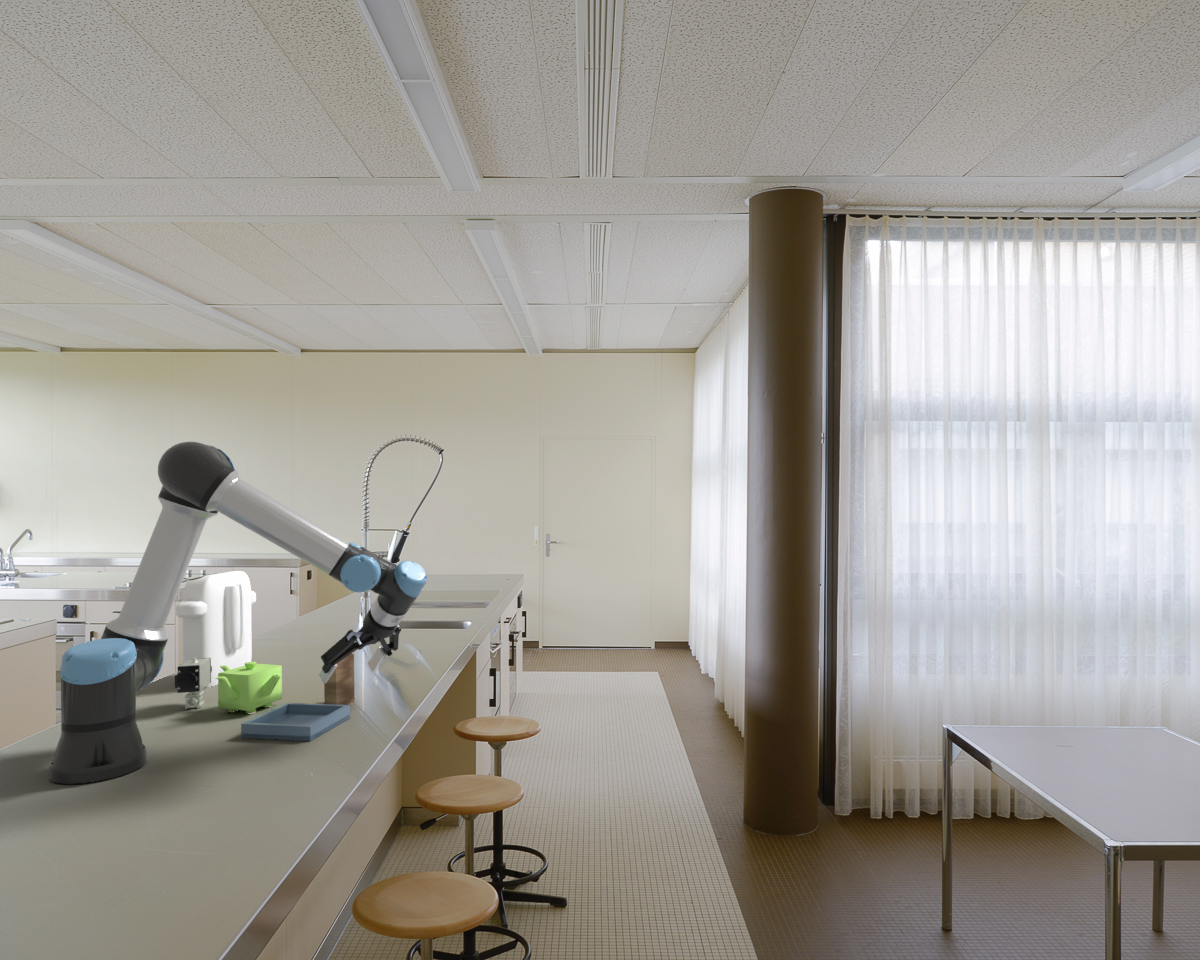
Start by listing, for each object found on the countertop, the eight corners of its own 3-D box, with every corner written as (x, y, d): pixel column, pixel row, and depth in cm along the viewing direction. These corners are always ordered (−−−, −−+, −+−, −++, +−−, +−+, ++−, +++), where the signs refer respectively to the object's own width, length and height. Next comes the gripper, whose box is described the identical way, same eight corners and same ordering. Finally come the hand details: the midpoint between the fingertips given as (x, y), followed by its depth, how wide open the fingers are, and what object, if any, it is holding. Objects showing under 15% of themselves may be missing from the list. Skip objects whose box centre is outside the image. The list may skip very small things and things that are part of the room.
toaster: (208, 692, 193) (207, 578, 194) (170, 691, 195) (169, 578, 196) (270, 668, 220) (269, 568, 221) (236, 668, 222) (235, 568, 223)
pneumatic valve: (212, 699, 186) (212, 652, 187) (197, 712, 175) (196, 662, 175) (189, 701, 185) (188, 653, 186) (171, 714, 174) (171, 663, 174)
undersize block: (336, 707, 177) (335, 647, 177) (324, 704, 180) (323, 645, 180) (354, 702, 181) (353, 643, 181) (342, 699, 184) (341, 641, 184)
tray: (310, 741, 152) (310, 726, 152) (241, 738, 155) (241, 723, 155) (350, 718, 168) (350, 705, 168) (286, 715, 171) (286, 702, 171)
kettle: (215, 721, 168) (215, 672, 168) (215, 707, 180) (214, 660, 180) (286, 711, 175) (286, 664, 175) (281, 697, 187) (281, 653, 187)
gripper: (344, 637, 160) (307, 697, 168) (434, 620, 180) (396, 674, 188) (330, 611, 163) (293, 670, 172) (419, 597, 183) (383, 651, 192)
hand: (347, 672), depth 180 cm, fingers open, 13 cm apart
